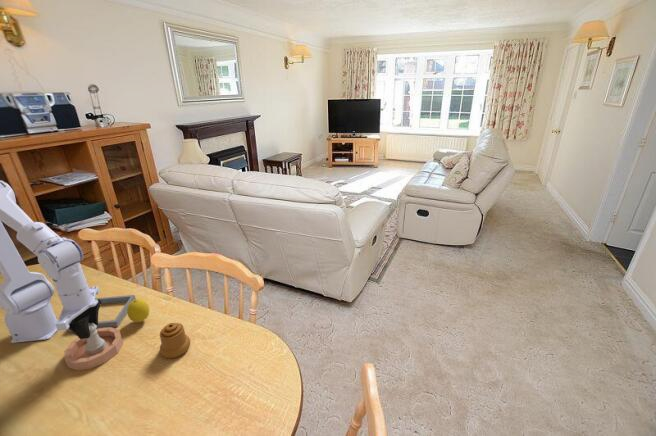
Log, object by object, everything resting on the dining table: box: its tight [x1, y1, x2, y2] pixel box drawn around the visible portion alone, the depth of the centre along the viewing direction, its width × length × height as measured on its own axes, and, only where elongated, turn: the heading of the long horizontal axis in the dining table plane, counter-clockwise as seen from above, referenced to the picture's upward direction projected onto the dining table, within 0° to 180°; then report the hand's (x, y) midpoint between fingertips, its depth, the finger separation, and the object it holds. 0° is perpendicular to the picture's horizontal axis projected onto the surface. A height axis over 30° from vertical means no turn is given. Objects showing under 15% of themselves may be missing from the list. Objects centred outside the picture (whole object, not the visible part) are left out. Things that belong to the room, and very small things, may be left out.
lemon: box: [126, 298, 150, 323], centre depth 90 cm, size 6×6×8 cm
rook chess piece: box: [85, 323, 106, 355], centre depth 79 cm, size 4×4×8 cm
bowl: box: [63, 327, 124, 371], centre depth 81 cm, size 12×12×3 cm
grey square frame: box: [67, 294, 137, 333], centre depth 94 cm, size 13×13×2 cm
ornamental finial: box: [159, 322, 191, 359], centre depth 81 cm, size 8×8×8 cm
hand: (89, 332), depth 79 cm, fingers closed on rook chess piece, 3 cm apart
